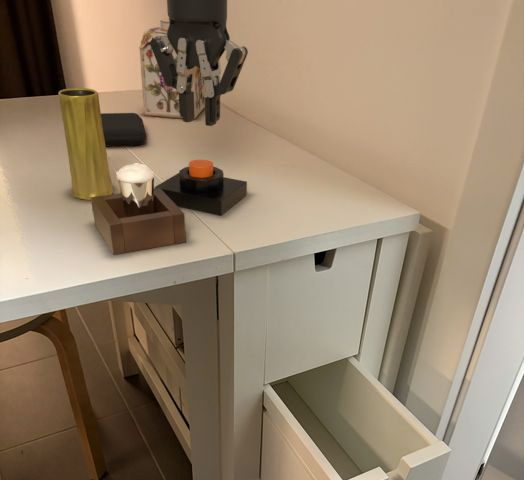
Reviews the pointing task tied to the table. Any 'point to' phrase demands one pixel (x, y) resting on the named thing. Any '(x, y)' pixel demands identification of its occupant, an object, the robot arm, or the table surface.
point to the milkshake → (136, 189)
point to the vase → (85, 143)
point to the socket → (138, 223)
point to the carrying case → (123, 129)
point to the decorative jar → (153, 85)
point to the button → (201, 168)
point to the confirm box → (204, 191)
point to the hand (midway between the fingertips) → (200, 122)
